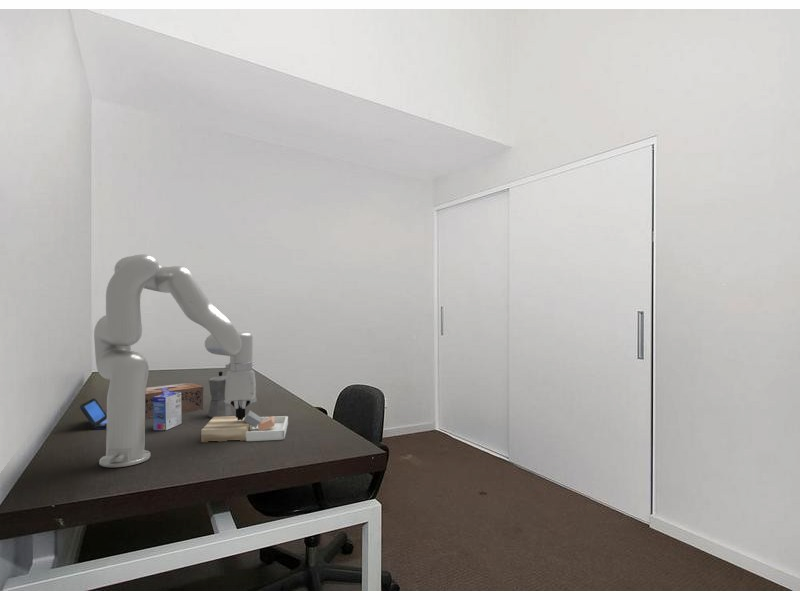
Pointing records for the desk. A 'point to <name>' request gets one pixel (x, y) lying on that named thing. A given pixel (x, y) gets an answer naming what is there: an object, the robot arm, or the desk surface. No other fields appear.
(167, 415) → the ink cartridge box
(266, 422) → the salmon pink block
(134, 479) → the desk surface
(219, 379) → the coffeepot
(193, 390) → the tissue box cover
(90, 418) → the handheld game console
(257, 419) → the slate tile
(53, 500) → the desk surface
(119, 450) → the robot arm
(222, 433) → the plate
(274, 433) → the box
